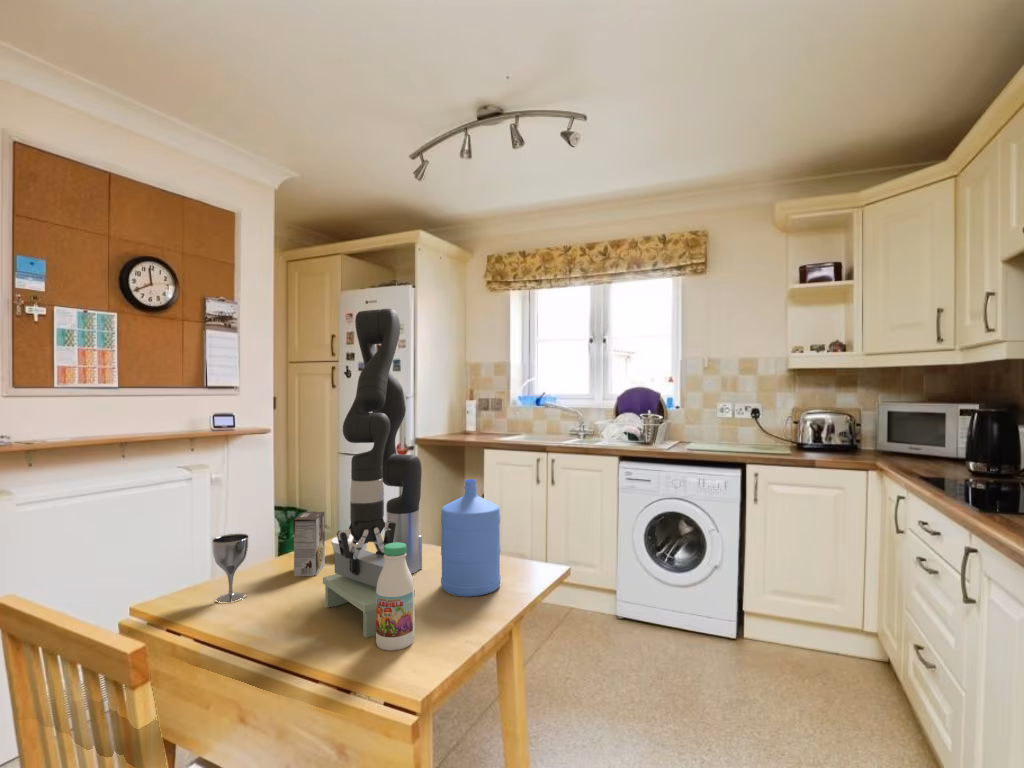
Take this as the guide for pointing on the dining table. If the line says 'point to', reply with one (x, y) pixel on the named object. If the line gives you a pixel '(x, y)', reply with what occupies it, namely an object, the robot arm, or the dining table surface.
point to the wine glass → (230, 559)
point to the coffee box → (309, 543)
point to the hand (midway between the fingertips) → (367, 570)
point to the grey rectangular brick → (361, 567)
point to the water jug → (470, 545)
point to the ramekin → (336, 544)
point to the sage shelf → (353, 598)
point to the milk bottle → (395, 600)
